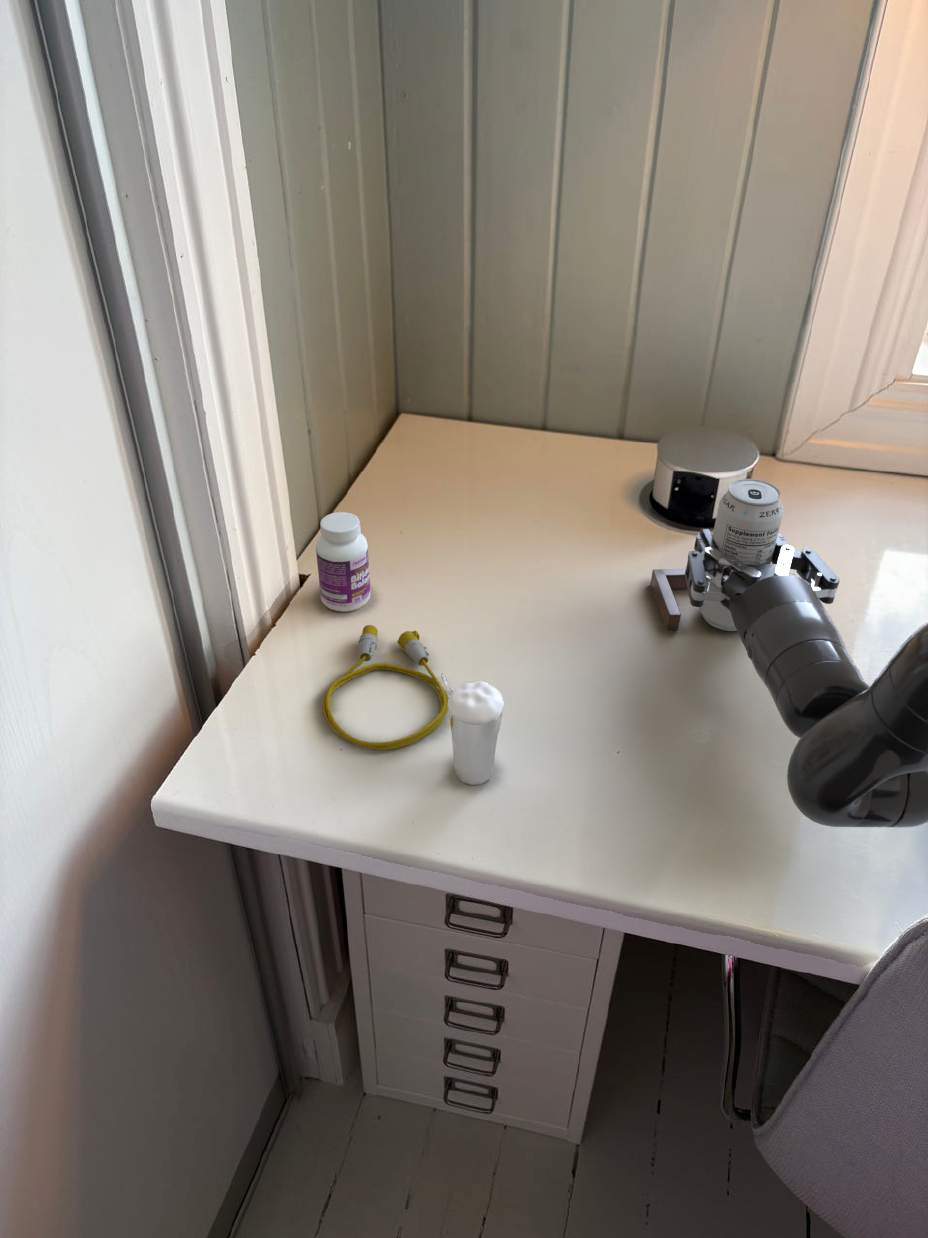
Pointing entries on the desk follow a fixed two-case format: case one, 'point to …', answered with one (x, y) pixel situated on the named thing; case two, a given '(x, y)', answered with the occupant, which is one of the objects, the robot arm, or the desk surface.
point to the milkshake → (474, 729)
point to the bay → (668, 594)
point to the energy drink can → (744, 534)
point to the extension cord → (413, 650)
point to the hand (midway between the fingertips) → (734, 535)
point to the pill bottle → (343, 563)
